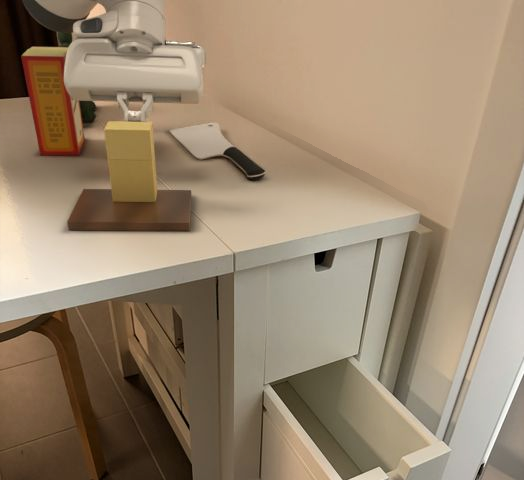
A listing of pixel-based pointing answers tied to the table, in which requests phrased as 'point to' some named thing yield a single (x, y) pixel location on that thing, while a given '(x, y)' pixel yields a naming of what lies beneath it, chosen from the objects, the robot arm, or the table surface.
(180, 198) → the butter board
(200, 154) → the kitchen cleaver
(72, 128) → the baking soda box
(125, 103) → the robot arm
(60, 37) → the toy figurine
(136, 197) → the base
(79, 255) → the table surface
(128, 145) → the block
